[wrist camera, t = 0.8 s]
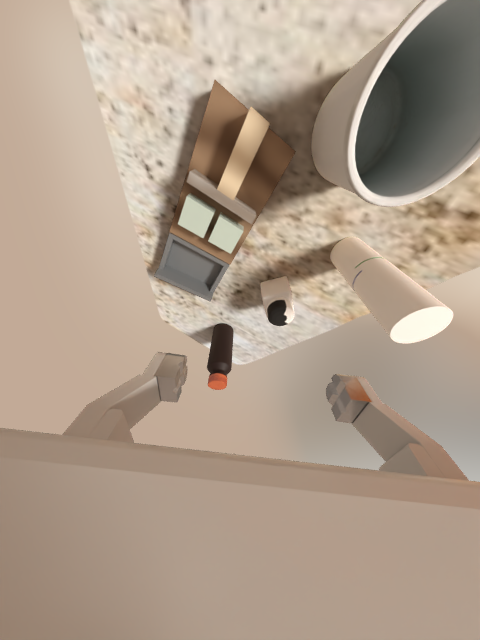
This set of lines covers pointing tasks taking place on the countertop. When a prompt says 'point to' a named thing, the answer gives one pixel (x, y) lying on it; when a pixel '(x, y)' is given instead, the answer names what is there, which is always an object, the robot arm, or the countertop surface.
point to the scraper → (235, 168)
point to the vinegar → (220, 356)
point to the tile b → (226, 233)
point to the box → (190, 268)
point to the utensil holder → (406, 109)
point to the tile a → (196, 215)
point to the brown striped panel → (213, 158)
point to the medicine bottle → (278, 301)
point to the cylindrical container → (390, 293)
